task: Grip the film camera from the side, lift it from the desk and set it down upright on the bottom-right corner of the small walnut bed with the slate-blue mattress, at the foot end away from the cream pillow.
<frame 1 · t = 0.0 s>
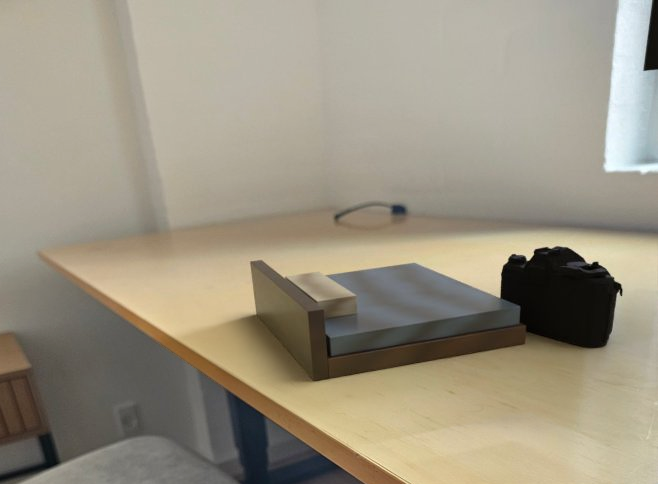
bed: (380, 326, 80), on the table
film camera: (564, 328, 74), on the table
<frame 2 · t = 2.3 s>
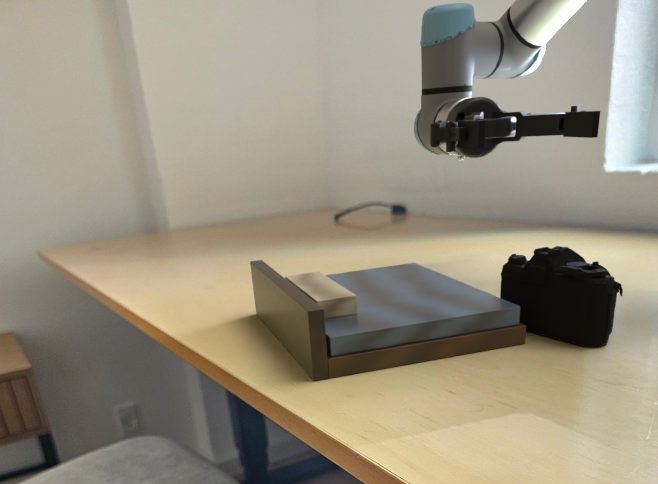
hand: (539, 129, 73), 20 cm above the table, tool horizontal, fingers open, 13 cm apart
nothing on the table moved.
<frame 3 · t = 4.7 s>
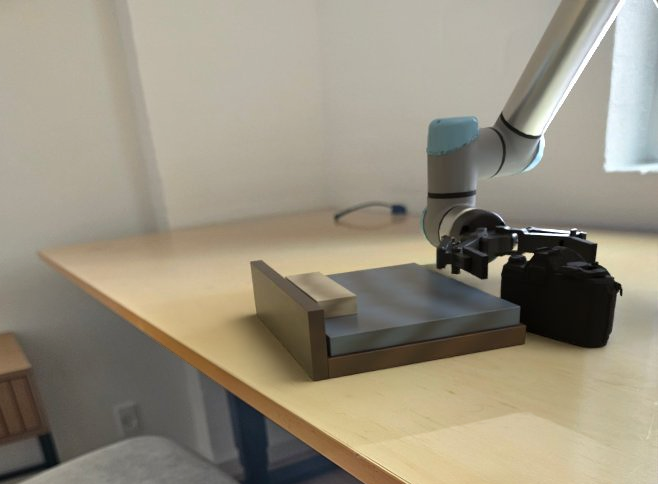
hand: (539, 261, 78), 6 cm above the table, tool horizontal, fingers open, 13 cm apart
nothing on the table moved.
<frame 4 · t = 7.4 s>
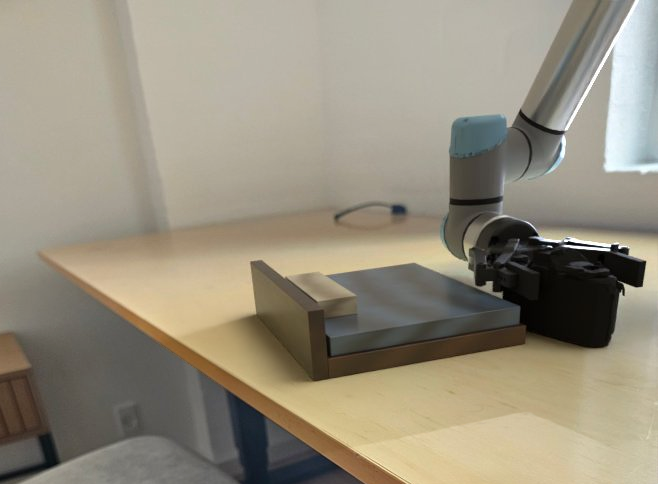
hand: (589, 280, 68), 6 cm above the table, tool horizontal, fingers closed on film camera, 11 cm apart
film camera: (567, 328, 74), on the table, touching gripper
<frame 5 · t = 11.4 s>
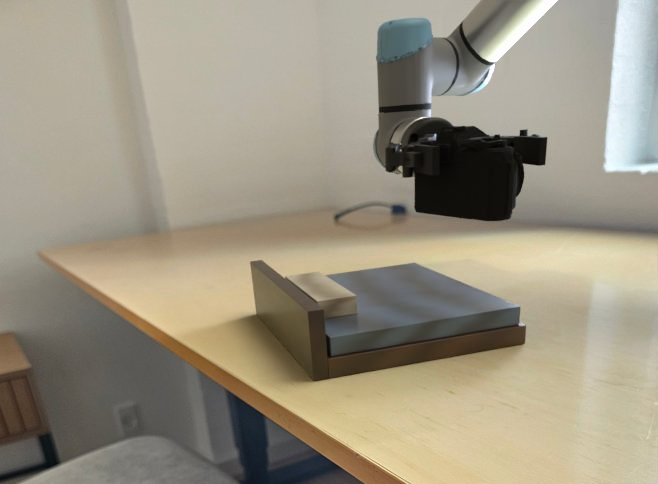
hand: (490, 156, 68), 18 cm above the table, tool horizontal, fingers closed on film camera, 11 cm apart
film camera: (476, 213, 75), point 12 cm above the table, touching gripper
when the fingers open (10 cm above the table, at t = 15.4 s): film camera stays where it is, resting on bed.
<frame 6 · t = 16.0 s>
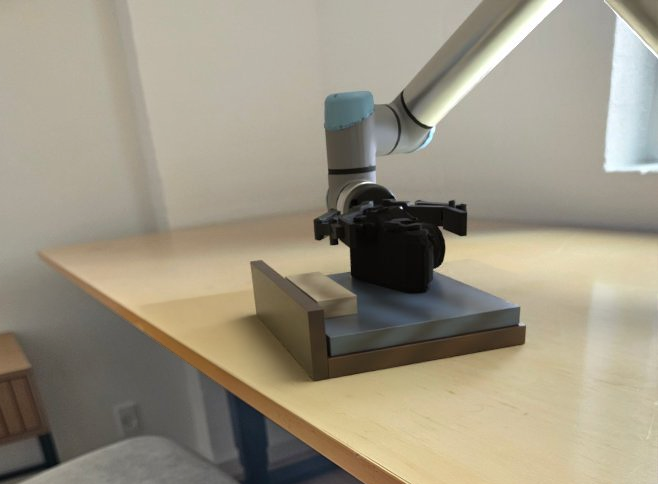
hand: (409, 230, 77), 10 cm above the table, tool horizontal, fingers open, 13 cm apart
film camera: (404, 280, 83), point 4 cm above the table, touching bed
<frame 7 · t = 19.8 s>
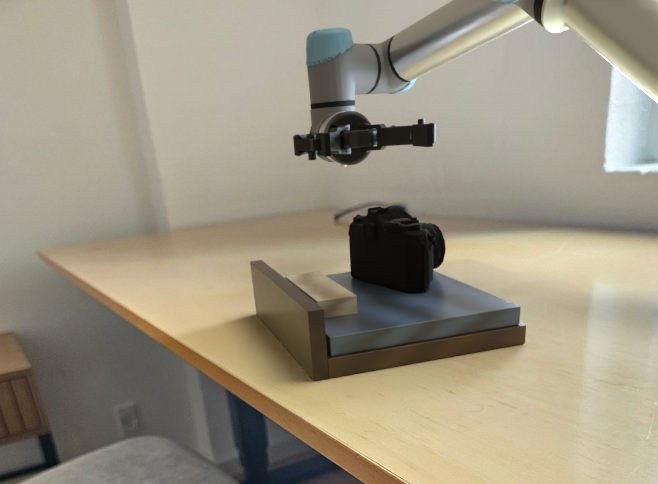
hand: (379, 140, 85), 20 cm above the table, tool horizontal, fingers open, 13 cm apart
nothing on the table moved.
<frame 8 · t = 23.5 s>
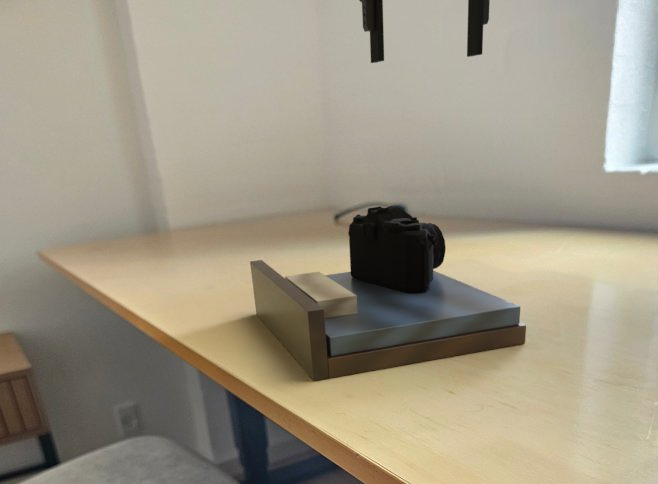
hand: (426, 59, 84), 29 cm above the table, tool pointing down, fingers open, 13 cm apart
nothing on the table moved.
at the end: film camera inside the target area on the bed (0.7 cm from its centre), point 3.8 cm above the bed's base; film camera tilted 0°; the gripper is holding nothing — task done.
